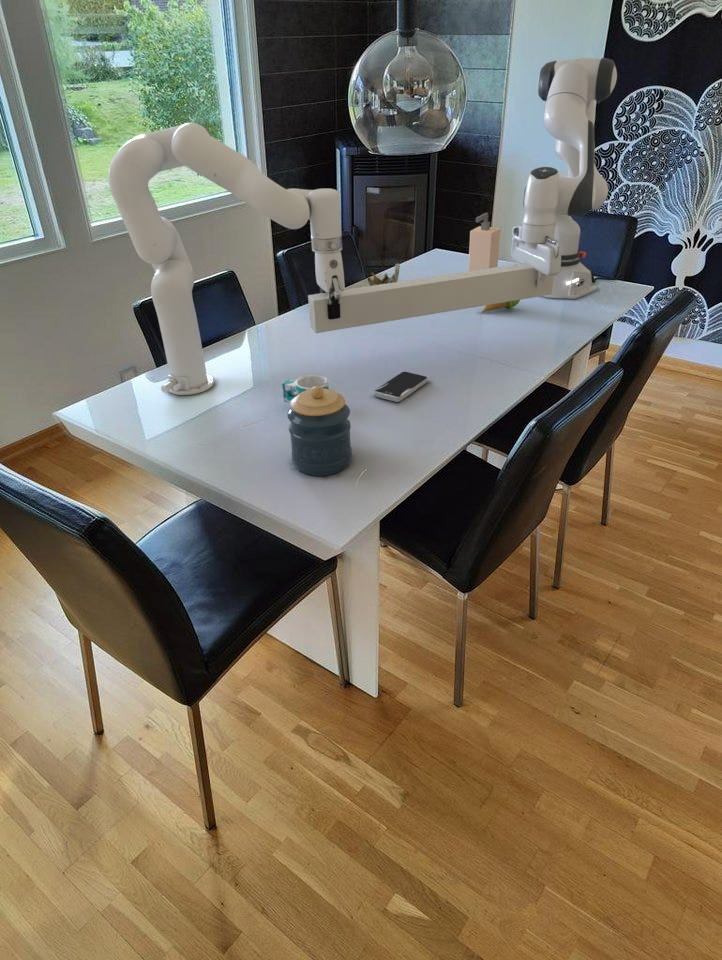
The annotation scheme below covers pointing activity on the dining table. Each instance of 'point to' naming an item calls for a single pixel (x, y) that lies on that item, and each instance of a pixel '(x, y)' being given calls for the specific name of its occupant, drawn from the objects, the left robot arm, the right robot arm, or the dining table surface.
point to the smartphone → (400, 386)
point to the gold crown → (385, 278)
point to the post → (427, 296)
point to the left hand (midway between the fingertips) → (330, 314)
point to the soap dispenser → (483, 245)
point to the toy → (501, 305)
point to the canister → (320, 432)
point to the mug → (302, 386)
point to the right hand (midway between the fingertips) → (532, 283)
